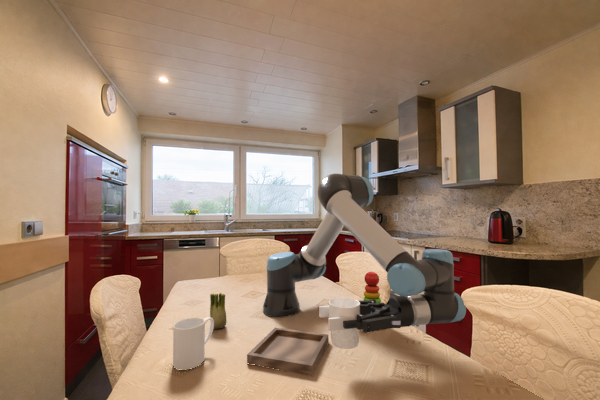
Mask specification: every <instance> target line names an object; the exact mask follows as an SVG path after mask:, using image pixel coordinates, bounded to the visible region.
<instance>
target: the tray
mask: <svg viewBox="0 0 600 400" xmlns="http://www.w3.org/2000/svg"><path fill="white" fill-rule="evenodd" d="M329 343H330V342H329V334H326V333H320V332H319V333H318V332H312V331H304V330H297V329H288V328H280V327H274V328H273V329H272V330H270V332H269V333H267V335H265V337H263V339H261V341H260V342H258V344H256V345H255V346H254V347H253V348H252V349H251V350H250V351H249V352H248V353H247V354H246V364H247V363H249V364H255V365H260V366H264V367H263V368H265V367H269V368H268V369H270V368H274V369H273V370H275V369H279V370H278V371H281V370H283V371H282V372H286V371H287V372H286V373H291V372H292V373H293V374H297V375H301V376H302V375H303V376H308V377H313V376H314V373H315V371H316V369H317V367H318V365H319V363H320V361H321V359H322V357H323V354H324V353H325V351H326V349H327V347H328V345H329ZM249 364H248V365H249Z"/></svg>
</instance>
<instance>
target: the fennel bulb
mask: <svg viewBox="0 0 600 400" xmlns="http://www.w3.org/2000/svg"><path fill="white" fill-rule="evenodd" d="M209 297H210V307H209V315H210V316H209V317H211V318H213V320H214V329H213V330H221V329H223V328H225V326H226V325H227V312H226V311H227V310H226V294H225V293H222V292H219V293H210V295H209Z"/></svg>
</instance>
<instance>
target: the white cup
mask: <svg viewBox="0 0 600 400" xmlns="http://www.w3.org/2000/svg"><path fill="white" fill-rule="evenodd" d="M359 301H360V300H358V299H355V298H351V297H334V298H331V299H329V300H328V305H329V317H328V318H334V317H345V316H355V317H356V320H357V314H358V315H360V302H359ZM360 316H361V315H360ZM330 339H331V341H330V342H331V343H332V346H334V347H336V348H338V349H345V350H351V349H355V348H357V347H358V346H359V343H360V330H358V329H357V328H356V329H346V330H335V331H330Z"/></svg>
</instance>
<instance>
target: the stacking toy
mask: <svg viewBox="0 0 600 400" xmlns="http://www.w3.org/2000/svg"><path fill="white" fill-rule="evenodd" d="M364 282H365V284H366V285H365V286H364V290H365V291H364V292H363V296H364V297H363V301H364V300H373V299H374V300H376V303H378V302H381V301H382V299H381V298H380V296H381V294H380V292H379V291H380V286H378V284H379V282H380V277H379V275H378V273H377V272H374V271H367V272H366V273H365V275H364ZM381 303H382V302H381ZM371 313H372V310H371ZM360 316H364V315H360ZM368 328H369V327H368Z"/></svg>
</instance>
